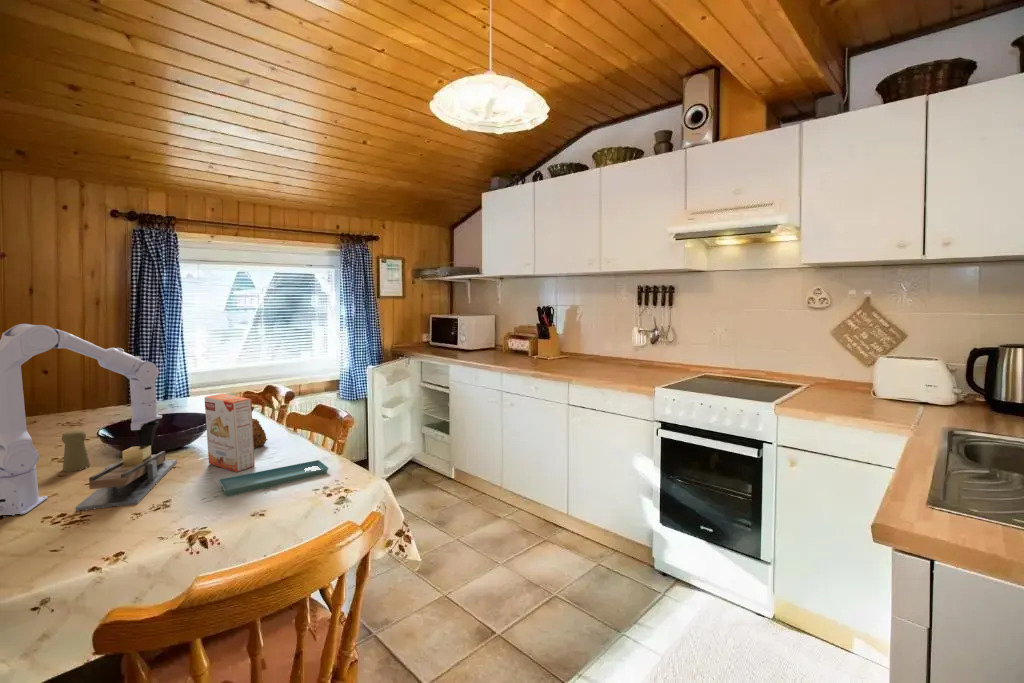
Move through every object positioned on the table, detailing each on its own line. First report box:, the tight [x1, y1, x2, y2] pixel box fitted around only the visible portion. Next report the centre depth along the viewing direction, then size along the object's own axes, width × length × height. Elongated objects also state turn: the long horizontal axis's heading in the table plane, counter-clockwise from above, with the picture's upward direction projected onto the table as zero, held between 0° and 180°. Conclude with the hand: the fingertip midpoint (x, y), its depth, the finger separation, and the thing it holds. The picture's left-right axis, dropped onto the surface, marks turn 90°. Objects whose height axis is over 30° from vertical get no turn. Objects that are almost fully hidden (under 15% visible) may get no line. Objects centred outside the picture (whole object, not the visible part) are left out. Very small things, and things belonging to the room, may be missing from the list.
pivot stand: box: [75, 459, 178, 512], centre depth 128 cm, size 30×12×6 cm, turn 20°
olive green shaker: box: [61, 430, 91, 473], centre depth 139 cm, size 6×6×11 cm
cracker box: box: [204, 393, 255, 473], centre depth 141 cm, size 14×6×21 cm, turn 62°
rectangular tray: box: [218, 459, 329, 497], centre depth 132 cm, size 26×9×2 cm, turn 130°
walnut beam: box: [88, 450, 166, 490], centre depth 128 cm, size 28×7×3 cm, turn 20°
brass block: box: [122, 445, 152, 466], centre depth 131 cm, size 6×4×4 cm
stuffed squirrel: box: [251, 405, 268, 449], centre depth 160 cm, size 10×14×13 cm
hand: (147, 447), depth 138 cm, fingers closed
